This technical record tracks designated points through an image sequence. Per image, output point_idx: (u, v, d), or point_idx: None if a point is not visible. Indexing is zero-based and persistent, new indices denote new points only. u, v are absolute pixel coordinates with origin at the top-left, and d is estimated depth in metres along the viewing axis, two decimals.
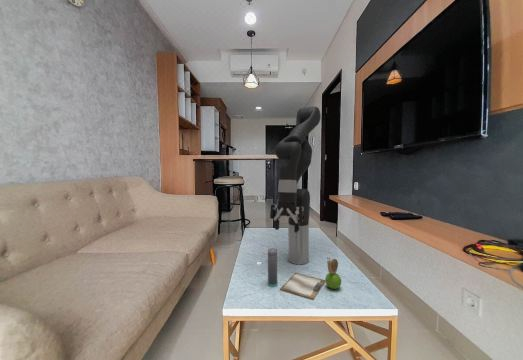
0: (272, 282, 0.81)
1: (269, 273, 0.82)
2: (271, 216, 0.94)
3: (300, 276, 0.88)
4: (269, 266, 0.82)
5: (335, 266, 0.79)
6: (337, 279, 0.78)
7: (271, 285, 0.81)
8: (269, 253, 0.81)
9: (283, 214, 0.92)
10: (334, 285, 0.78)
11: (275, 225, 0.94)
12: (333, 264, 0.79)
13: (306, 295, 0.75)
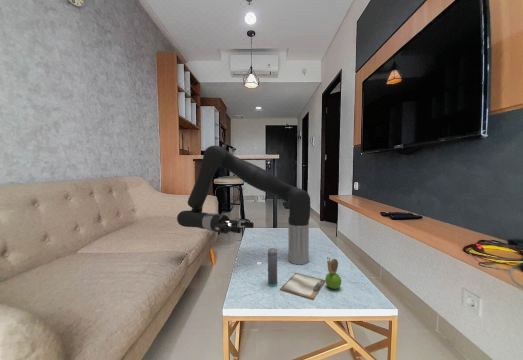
0: (272, 282, 0.81)
1: (269, 273, 0.82)
2: None
3: (300, 276, 0.88)
4: (269, 266, 0.82)
5: (335, 266, 0.79)
6: (337, 279, 0.78)
7: (271, 285, 0.81)
8: (269, 253, 0.81)
9: None
10: (334, 285, 0.78)
11: None
12: (333, 264, 0.79)
13: (306, 295, 0.75)
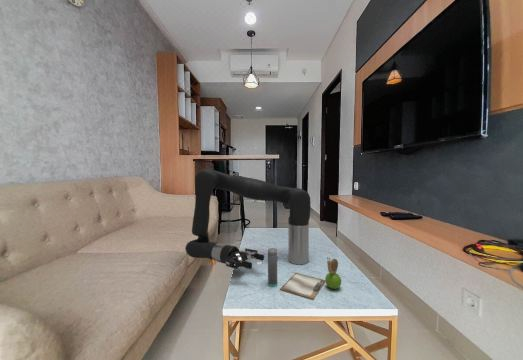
0: (272, 282, 0.81)
1: (269, 273, 0.82)
2: None
3: (300, 276, 0.88)
4: (269, 266, 0.82)
5: (335, 266, 0.79)
6: (337, 279, 0.78)
7: (271, 285, 0.81)
8: (269, 253, 0.81)
9: None
10: (334, 285, 0.78)
11: (260, 259, 0.91)
12: (333, 264, 0.79)
13: (306, 295, 0.75)
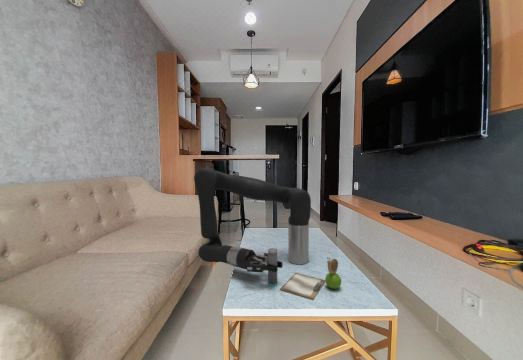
0: (272, 282, 0.81)
1: (269, 273, 0.82)
2: None
3: (300, 276, 0.88)
4: None
5: (335, 266, 0.79)
6: (337, 279, 0.78)
7: (271, 285, 0.82)
8: (269, 253, 0.81)
9: None
10: (334, 285, 0.78)
11: (278, 266, 0.84)
12: (333, 264, 0.79)
13: (306, 295, 0.75)
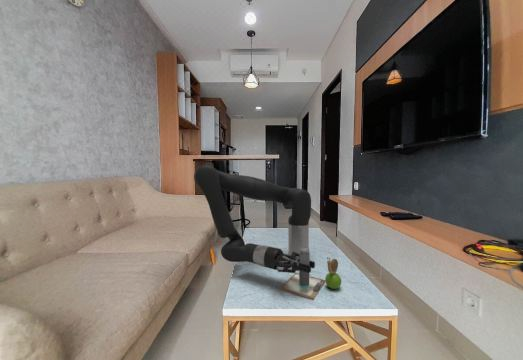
0: (304, 283, 0.76)
1: (301, 273, 0.76)
2: None
3: None
4: None
5: (335, 266, 0.79)
6: (337, 279, 0.78)
7: (303, 287, 0.76)
8: (301, 252, 0.76)
9: None
10: (334, 285, 0.78)
11: None
12: (333, 264, 0.79)
13: (306, 295, 0.75)
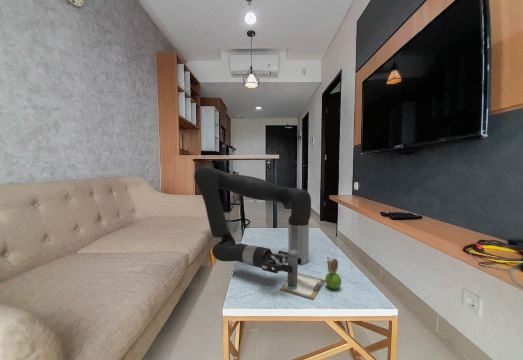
0: (292, 285, 0.78)
1: (289, 275, 0.79)
2: None
3: (300, 276, 0.88)
4: None
5: (335, 266, 0.79)
6: (337, 279, 0.78)
7: (291, 288, 0.78)
8: (290, 254, 0.78)
9: None
10: (334, 285, 0.78)
11: None
12: (333, 264, 0.79)
13: (306, 295, 0.75)
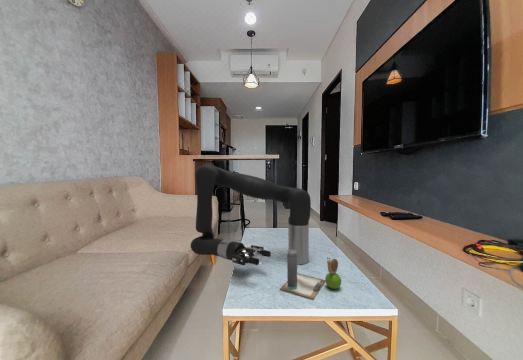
0: (292, 284, 0.78)
1: (289, 275, 0.79)
2: None
3: (300, 276, 0.88)
4: (289, 268, 0.79)
5: (335, 266, 0.79)
6: (337, 279, 0.78)
7: (291, 288, 0.78)
8: (289, 254, 0.78)
9: None
10: (334, 285, 0.78)
11: None
12: (333, 264, 0.79)
13: (306, 295, 0.75)
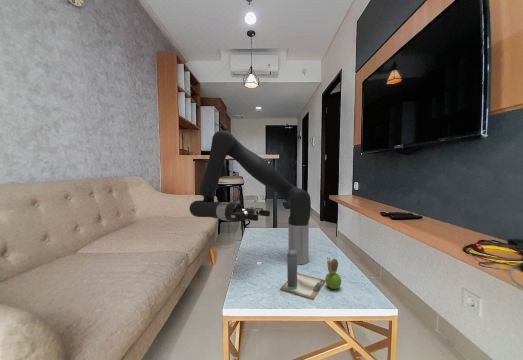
0: (292, 284, 0.78)
1: (289, 275, 0.79)
2: None
3: (300, 276, 0.88)
4: (289, 268, 0.79)
5: (335, 266, 0.79)
6: (337, 279, 0.78)
7: (291, 288, 0.78)
8: (289, 254, 0.78)
9: None
10: (334, 285, 0.78)
11: (265, 215, 0.90)
12: (333, 264, 0.79)
13: (306, 295, 0.75)
